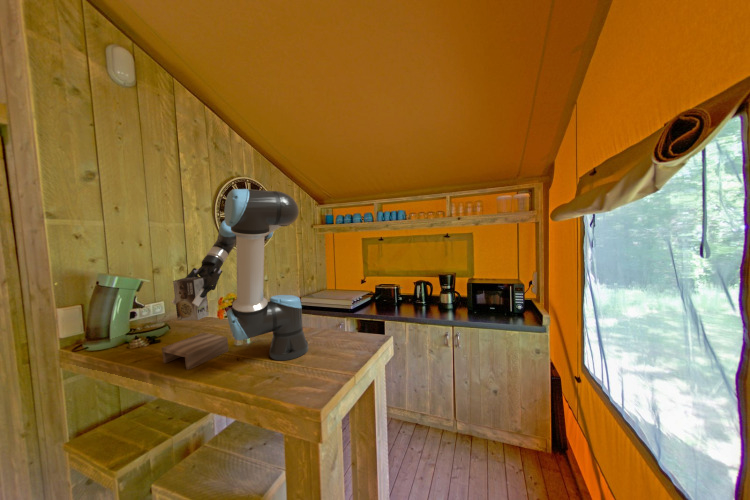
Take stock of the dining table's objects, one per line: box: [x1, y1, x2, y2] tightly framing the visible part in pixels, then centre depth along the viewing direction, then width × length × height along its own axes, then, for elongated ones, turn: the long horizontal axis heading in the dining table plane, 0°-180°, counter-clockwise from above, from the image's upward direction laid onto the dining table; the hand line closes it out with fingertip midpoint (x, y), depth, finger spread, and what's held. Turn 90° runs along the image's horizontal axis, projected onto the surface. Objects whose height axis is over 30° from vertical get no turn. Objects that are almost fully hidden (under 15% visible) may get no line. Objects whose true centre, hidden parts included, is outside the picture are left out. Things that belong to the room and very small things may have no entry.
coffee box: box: [172, 276, 210, 321], centre depth 105 cm, size 9×6×16 cm
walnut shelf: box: [161, 332, 229, 371], centre depth 106 cm, size 16×16×6 cm
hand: (184, 304), depth 102 cm, fingers closed on coffee box, 10 cm apart
